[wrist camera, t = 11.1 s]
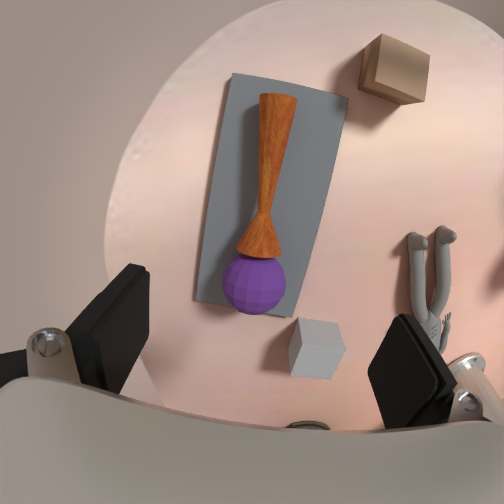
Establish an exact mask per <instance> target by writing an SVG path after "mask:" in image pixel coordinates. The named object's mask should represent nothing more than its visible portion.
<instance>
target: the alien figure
mask: <svg viewBox="0 0 504 504" xmlns="http://www.w3.org/2000/svg"><path fill="white" fill-rule="evenodd" d="M456 237H457V236H456V233H455V232H453V231H452V230H450V229H448V228H447V227H445V226H440V227H439V228H438V229H437V232H436V241H435V257H436V290H435V295H434V298H433V301H432V303H431V305H430V307H429V309H428V310H427V306H426V295H425V282H426V275H425V260H424V253H423V250H424V249H426V247H427V246H428V241H427V239H426V238H425V237H424V236H422V235H419V234H418V233H416V232H412V233H410V234H409V235H408V238H407V244H408V253H409V264H410V298H411V306H412V310H413V313H414V316H415V317H416V319H417V320H418V322H419V323H420V325H421V326H422V328H423V329H424V331H425V332H426V334H427V335H428V337H429V338H430V340H431V341H432V343H433V344H434V346H435V347H436V349H437V350H438V352H439V353H440V355H441V354H442V353H443V352H444V350H445V348H446V345H447V338H448V333H449V331H450V322H449V320H450V316H451V312H450V313H449V314H447V316H446V315H445V322H444V320H443V325H444V328H443V331H442V334H441V321H440V318H439V316H440V314H441V312H442V311H443V309H444V307H445V305H446V302H447V300H448V296H449V292H450V285H451V267H450V250H449V244H450V243H452V242H454V241H455V240H456Z"/></svg>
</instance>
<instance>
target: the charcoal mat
mask: <svg viewBox="0 0 504 504" xmlns="http://www.w3.org/2000/svg"><path fill="white" fill-rule="evenodd" d="M262 93H279V94H285V95H289V96H292V97H295V98H296V99H297V100H298V101H297V105H296V109H295V113H294V118H293V122H292V126H291V130H290V134H289V138H288V142H287V146H286V150H285V154H284V158H283V162H282V166H281V170H280V174H279V178H278V182H277V186H276V190H275V194H274V198H273V202H272V206H271V210H270V215H271V219H272V222H273V225H274V229H275V232H276V236H277V239H278V242H279V246H280V249H281V253H282V254H281V255H280V256H279V257H274V258H275V259H276V260H277V261H278V262H279V264H280V265H281V266H282V267H283V271H284V275H285V279H286V288H285V293H284V296H283V297H282V299H281V300H280V302H279V303H278V304H277V305H276V307H275V308H273V309H271V310H269V311H268V312H266V313H267V314H272V315H278V316H284V317H291V318H292V316H293V313H294V310H295V306H296V303H297V300H298V297H299V294H300V290H301V287H302V284H303V280H304V277H305V274H306V270H307V267H308V263H309V260H310V257H311V253H312V249H313V246H314V242H315V239H316V235H317V231H318V228H319V224H320V220H321V216H322V213H323V209H324V205H325V201H326V197H327V193H328V189H329V185H330V181H331V177H332V173H333V168H334V164H335V160H336V156H337V151H338V147H339V142H340V138H341V133H342V128H343V124H344V119H345V114H346V109H347V104H348V99H349V98H346V97H342V96H339V95H336V94H332V93H329V92H325V91H321V90H317V89H314V88H310V87H306V86H301V85H297V84H293V83H288V82H283V81H278V80H273V79H268V78H262V77H257V76H251V75H244V74H237V73H232V78H231V82H230V87H229V92H228V97H227V101H226V106H225V111H224V117H223V122H222V127H221V132H220V138H219V143H218V149H217V154H216V160H215V166H214V172H213V178H212V184H211V190H210V197H209V203H208V210H207V216H206V223H205V230H204V237H203V245H202V252H201V260H200V268H199V276H198V285H197V294H196V300H199V301H203V302H208V303H213V304H218V305H223V306H228V307H233V306H232V305H231V304H230V303H229V302H228V300H227V299H226V296H225V294H224V291H223V288H222V283H223V274H224V272H225V269H226V268H227V266H228V264H229V262H230V261H231V260H232V259H234V258H235V257H237V256H238V255H239V254H241V253H240V252H238V251H237V250H236V249H235V248H236V245H237V244H238V242H239V241H240V239H241V237H242V236H243V234H244V232H245V231H246V229H247V228H248V226H249V224H250V223H251V221H252V220H253V218H254V216H255V215H256V213H257V211H258V160H259V95H260V94H262Z"/></svg>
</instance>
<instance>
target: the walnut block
mask: <svg viewBox="0 0 504 504" xmlns="http://www.w3.org/2000/svg"><path fill="white" fill-rule="evenodd" d="M429 60H430V55H428V54H426V53H424V52H422V51H420V50H418V49H416V48H414V47H412V46H410V45H408V44H406V43H403V42H401V41H399V40H397V39H394V38H392V37H389V36H387V35H385V34H381V35H379V36H378V37H377V38H376V39H374V40H373V41H372V42H371V43H369V44H368V45H367V46H366V47H365V48H364V55H363V61H362V67H361V73H360V79H359V85H358V90H361V91H364V92H367V93H370V94H373V95H376V96H378V97H381V98H384V99H386V100H389V101H392V102H394V103H397V104H399V105H406V104H413V103H419V102H424V101H425V94H426V87H427V79H428V70H429Z"/></svg>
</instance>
